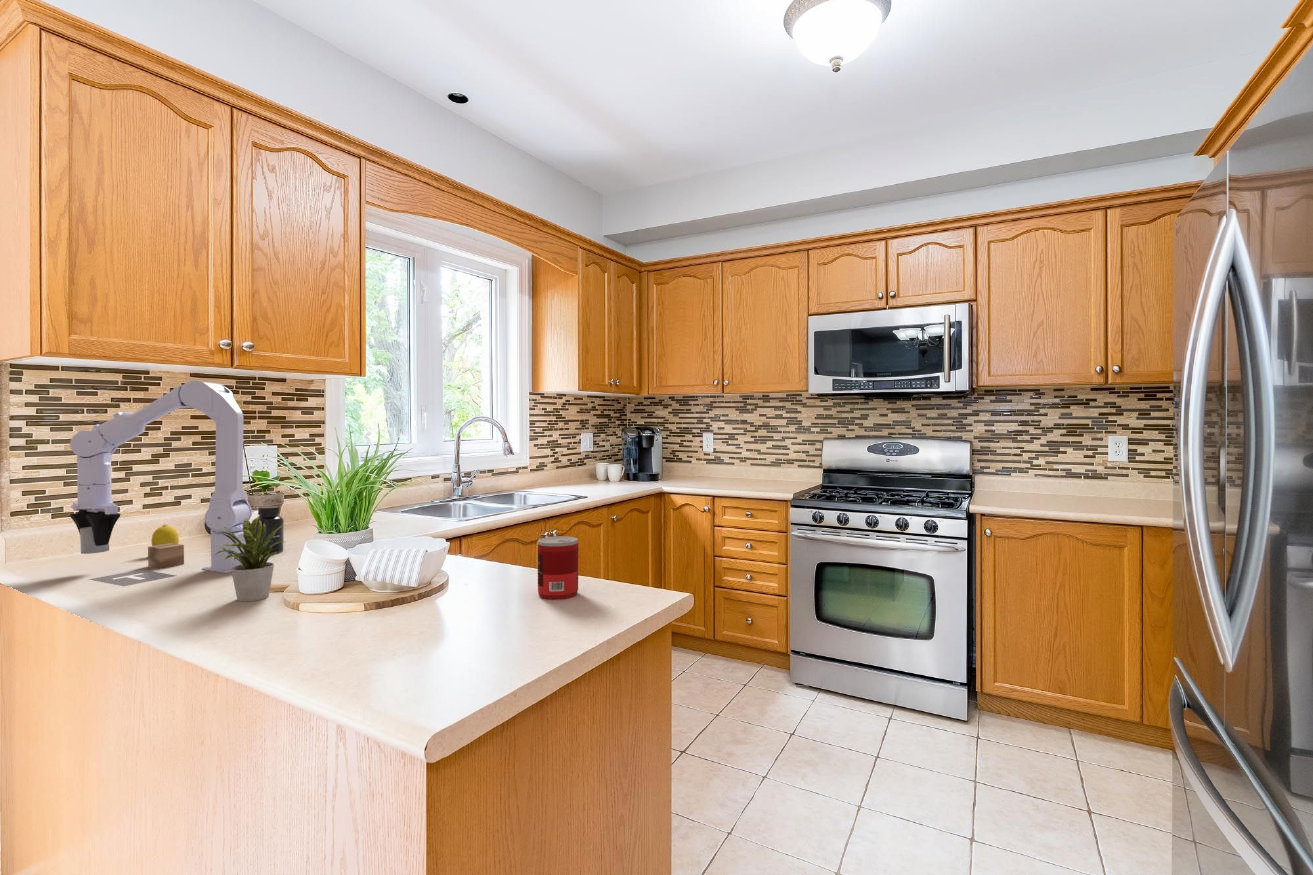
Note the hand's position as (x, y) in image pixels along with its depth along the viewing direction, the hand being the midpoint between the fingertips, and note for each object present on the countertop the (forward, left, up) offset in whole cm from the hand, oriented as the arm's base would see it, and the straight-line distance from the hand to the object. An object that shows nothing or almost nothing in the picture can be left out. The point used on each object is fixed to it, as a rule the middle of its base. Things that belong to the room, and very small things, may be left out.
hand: (95, 544), depth 142 cm
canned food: (-105, -29, -7) cm, 109 cm away
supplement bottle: (-12, -32, -7) cm, 35 cm away
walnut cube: (-6, -11, -7) cm, 14 cm away
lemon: (+8, -18, -7) cm, 21 cm away
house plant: (-51, -2, -7) cm, 51 cm away
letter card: (-13, -1, -7) cm, 15 cm away
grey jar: (0, 0, -2) cm, 2 cm away
